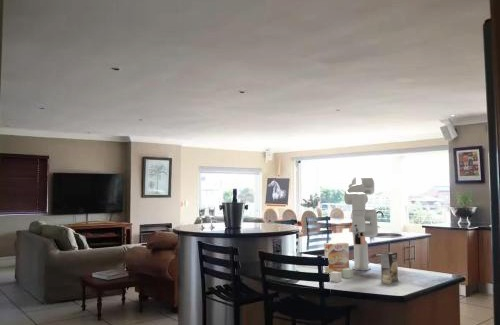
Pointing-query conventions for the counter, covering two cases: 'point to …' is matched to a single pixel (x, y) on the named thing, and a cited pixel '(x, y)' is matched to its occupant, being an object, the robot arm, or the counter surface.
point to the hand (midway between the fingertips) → (359, 243)
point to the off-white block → (335, 276)
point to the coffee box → (389, 264)
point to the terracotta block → (362, 239)
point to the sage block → (347, 272)
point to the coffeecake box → (336, 256)
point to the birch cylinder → (386, 278)
